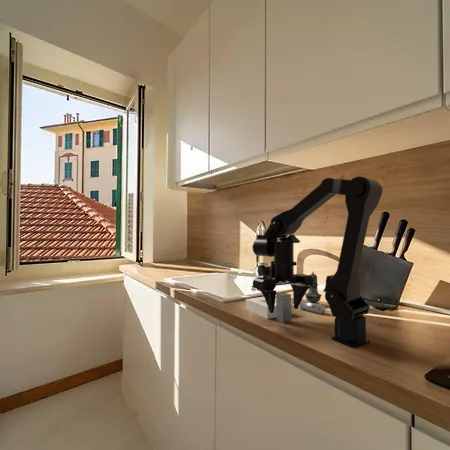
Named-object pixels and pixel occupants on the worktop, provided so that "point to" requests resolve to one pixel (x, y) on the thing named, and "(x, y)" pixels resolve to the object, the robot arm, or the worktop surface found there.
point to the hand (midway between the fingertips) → (283, 310)
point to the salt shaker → (313, 291)
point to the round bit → (312, 307)
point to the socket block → (262, 307)
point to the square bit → (283, 307)
